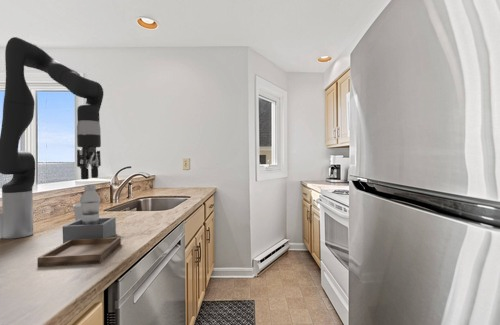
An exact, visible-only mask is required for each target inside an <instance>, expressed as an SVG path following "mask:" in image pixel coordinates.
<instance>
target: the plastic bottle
mask: <svg viewBox="0 0 500 325" xmlns="http://www.w3.org/2000/svg"><path fill="white" fill-rule="evenodd" d="M83 190H84V192H83V193H82V195H81V196H80V199H79V203H80V204H81V209H82V225H96V224H100V221H99V218H100V206H101V197H100V195H99V194H98V192H97V191H96V190H97V185H96V184H84V188H83Z"/></svg>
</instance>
